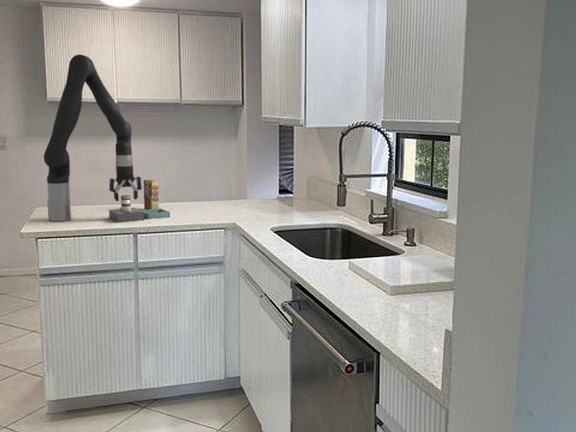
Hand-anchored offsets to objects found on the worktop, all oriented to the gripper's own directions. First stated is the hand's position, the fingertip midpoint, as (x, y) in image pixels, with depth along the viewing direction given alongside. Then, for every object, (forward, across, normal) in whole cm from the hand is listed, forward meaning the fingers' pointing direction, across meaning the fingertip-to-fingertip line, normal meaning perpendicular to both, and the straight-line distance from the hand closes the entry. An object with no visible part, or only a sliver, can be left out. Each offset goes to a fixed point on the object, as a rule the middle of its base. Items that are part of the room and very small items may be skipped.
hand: (126, 200), depth 272 cm
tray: (+9, +14, +1) cm, 16 cm away
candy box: (+9, +19, +17) cm, 27 cm away
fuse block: (+9, 0, 0) cm, 9 cm away
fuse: (+9, 0, 0) cm, 9 cm away
